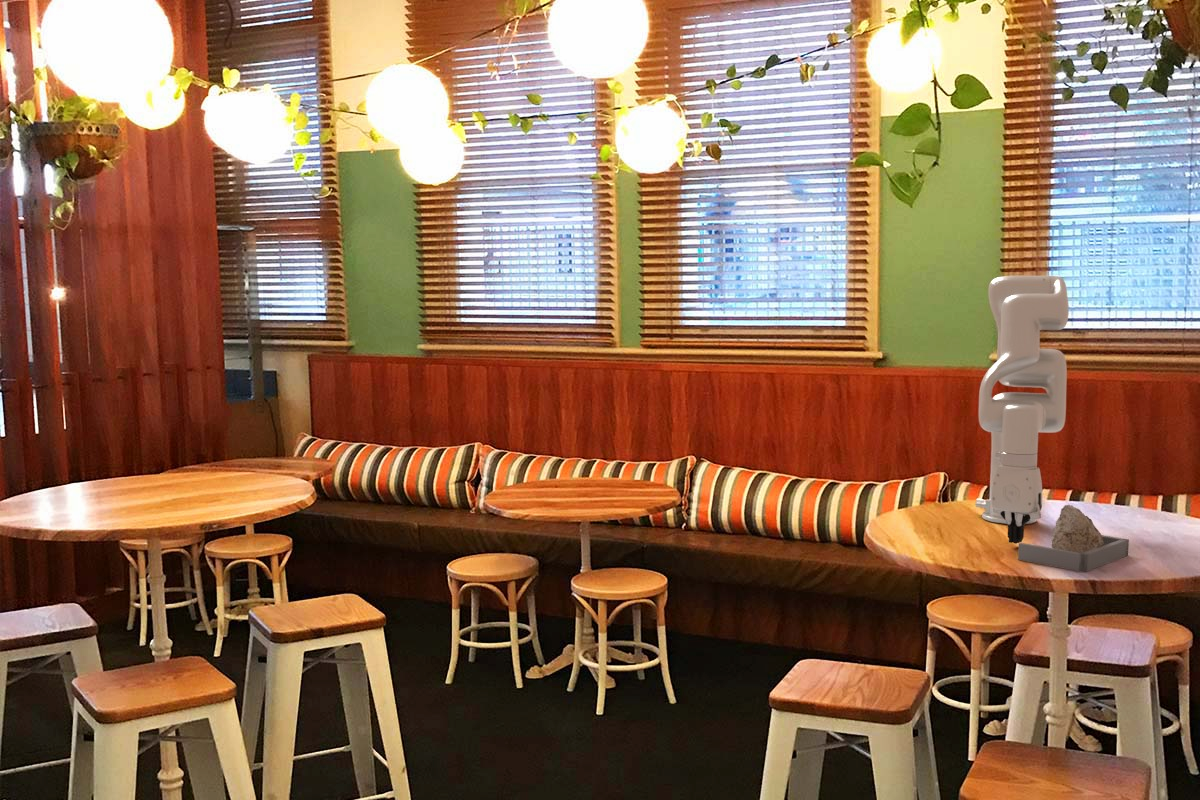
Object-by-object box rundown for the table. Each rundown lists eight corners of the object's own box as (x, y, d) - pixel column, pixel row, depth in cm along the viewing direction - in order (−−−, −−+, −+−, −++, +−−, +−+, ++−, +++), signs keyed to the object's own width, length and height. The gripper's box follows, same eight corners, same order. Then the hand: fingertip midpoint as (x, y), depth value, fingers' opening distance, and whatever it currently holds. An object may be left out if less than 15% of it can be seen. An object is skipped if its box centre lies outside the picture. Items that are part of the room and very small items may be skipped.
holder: (1018, 559, 245) (1018, 543, 245) (1063, 544, 260) (1064, 529, 259) (1084, 572, 235) (1085, 555, 234) (1128, 555, 249) (1128, 539, 249)
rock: (1126, 533, 243) (1098, 523, 240) (1103, 576, 245) (1075, 567, 242) (1082, 507, 255) (1056, 497, 252) (1060, 548, 257) (1034, 539, 254)
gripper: (978, 458, 258) (975, 539, 260) (1044, 466, 247) (1040, 550, 249) (994, 454, 263) (991, 534, 265) (1059, 462, 252) (1055, 545, 254)
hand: (1015, 542), depth 257 cm, fingers closed
